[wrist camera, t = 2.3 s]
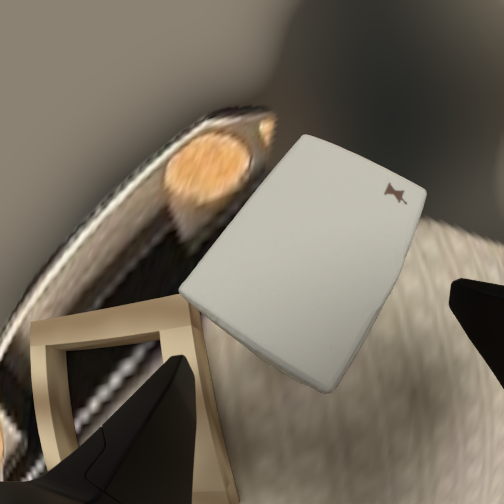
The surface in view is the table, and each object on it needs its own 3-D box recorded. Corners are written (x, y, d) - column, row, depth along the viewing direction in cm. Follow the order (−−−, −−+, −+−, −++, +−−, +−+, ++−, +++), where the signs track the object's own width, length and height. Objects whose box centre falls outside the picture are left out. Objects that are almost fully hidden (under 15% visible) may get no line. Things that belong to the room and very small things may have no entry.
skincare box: (295, 272, 19) (305, 126, 8) (350, 304, 17) (434, 188, 6) (242, 349, 17) (168, 289, 6) (300, 385, 15) (338, 402, 5)
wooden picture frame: (239, 501, 12) (233, 516, 10) (73, 485, 12) (54, 491, 10) (198, 303, 18) (186, 292, 16) (50, 329, 18) (30, 322, 16)
